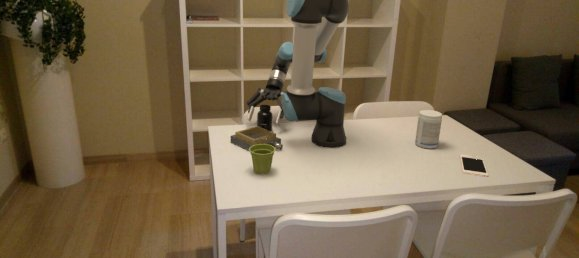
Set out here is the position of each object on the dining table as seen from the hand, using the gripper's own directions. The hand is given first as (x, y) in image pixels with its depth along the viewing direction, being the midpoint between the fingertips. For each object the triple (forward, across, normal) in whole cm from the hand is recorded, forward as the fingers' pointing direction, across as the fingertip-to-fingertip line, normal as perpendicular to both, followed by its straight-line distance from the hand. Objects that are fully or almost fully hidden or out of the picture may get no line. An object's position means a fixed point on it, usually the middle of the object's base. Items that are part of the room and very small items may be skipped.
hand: (262, 122), depth 194 cm
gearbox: (+14, -4, +7) cm, 16 cm away
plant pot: (+29, -15, +22) cm, 40 cm away
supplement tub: (-8, -70, -15) cm, 72 cm away
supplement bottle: (+2, 0, -5) cm, 5 cm away
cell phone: (+3, -89, -5) cm, 89 cm away
